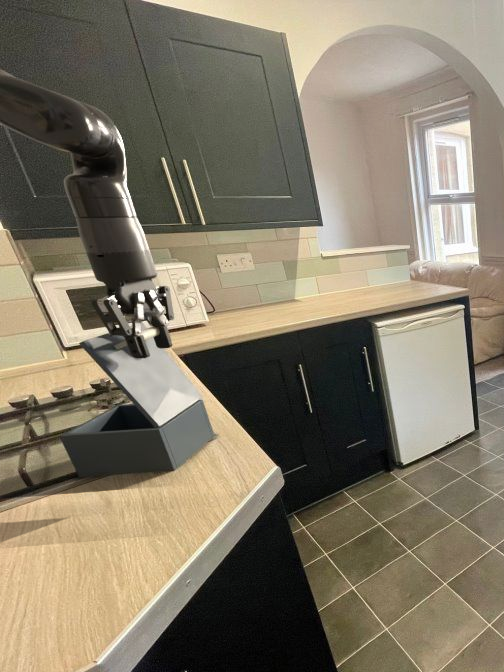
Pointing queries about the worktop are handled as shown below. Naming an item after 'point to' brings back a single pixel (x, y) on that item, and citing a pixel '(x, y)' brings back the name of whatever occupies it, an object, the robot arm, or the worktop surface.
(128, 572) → the worktop surface
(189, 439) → the storage box
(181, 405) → the lid
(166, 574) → the worktop surface
